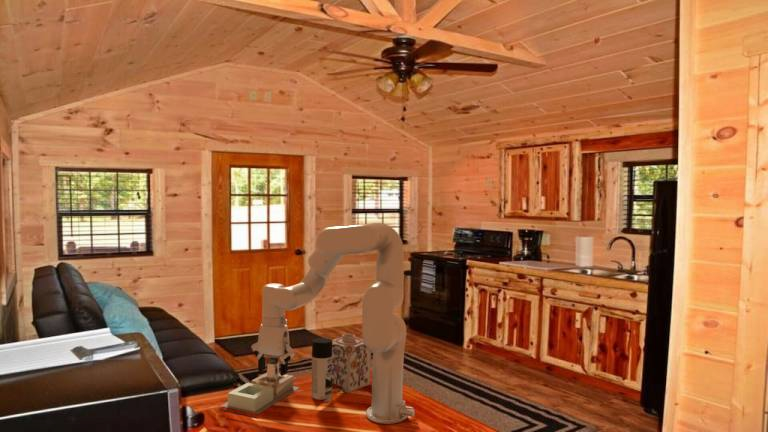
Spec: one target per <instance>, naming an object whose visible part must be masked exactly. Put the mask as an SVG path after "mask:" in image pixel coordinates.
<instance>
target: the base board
mask: <svg viewBox="0 0 768 432" xmlns="http://www.w3.org/2000/svg"><path fill="white" fill-rule="evenodd" d="M299 389H300V386H294V385H293V388H292V389H290V390H288V391H287V392H285V393H284V394H282V395H280V396H279V397H277V398H275V397H273V400H272V401H271V402H269V403H268V404H266V405H264V406H263V407H261V408H260V409H258V410H256V411H255V412H254V411H249V410H245V409H240V408H236V407H231V406H228V401H226V402H225V403H222V404H221V405H220V407H224V408H227V409H232V410H233V409H234V410H237V411H242V412H247V413H250V414H255V415H260V414H261V413H262V412H264V411H266V410H267V409H269V408H270V407H272V406H273V405H275V404H277V403H278V402H280V401H281V400H283V399H284V398H286V397H288V396H289V395H291V394H293V392H295V391H297V390H299ZM219 411H220V412H225V413H230V414H234V415H237V416H238V415H239V416H243V417H247V418H252V419H255V420H258V419H260V417H258V416H257V417H256V416H252V415H248V414H244V413H243V414H242V413H239V412H234V411H231V410H230V411H229V410H225V409H222V408H221V409H219Z"/></svg>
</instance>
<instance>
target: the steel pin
mask: <svg viewBox="0 0 768 432" xmlns="http://www.w3.org/2000/svg"><path fill="white" fill-rule="evenodd" d="M266 373H267V381H269V382H274V383H275V382H277V381H279V373H280V358H279V357H277V356H271V355H268V356H267V357H266Z"/></svg>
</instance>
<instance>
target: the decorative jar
mask: <svg viewBox="0 0 768 432" xmlns="http://www.w3.org/2000/svg"><path fill="white" fill-rule="evenodd" d="M371 361H372V352H371V351H369V350H368V349H367V347H366V346H365V344H364V342H363V338H360V337H356V334H353V333H344V334H342V336H341V337H338V338H335V339H333V340H332V385H333V384H334V385H335V386H339V387H341V388H340V389H339V391H342V392H343V393H346V394H350V393H352V392H355V391H357V390H361V389H362V388H365V387H367V386H369V385H371V376H372V371H371V370H372V362H371Z"/></svg>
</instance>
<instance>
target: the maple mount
mask: <svg viewBox="0 0 768 432" xmlns="http://www.w3.org/2000/svg"><path fill="white" fill-rule="evenodd" d="M250 383H252V384H257V385H262V386H267V387H272V388H273V397H275V398H277V397H279V396H280V395H282V394H284V393H285V392H287V391H288V390H290V389H292V388H293V386H294V375H291V374H290V375H289V374H285V375H283V376H281V375H280V372H279V381H277V382H275V383H274V382H269V381H267V372H265V373H263V374H262V375H259V376H257V377H256V378H254V379H252V380H251V381H250Z"/></svg>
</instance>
